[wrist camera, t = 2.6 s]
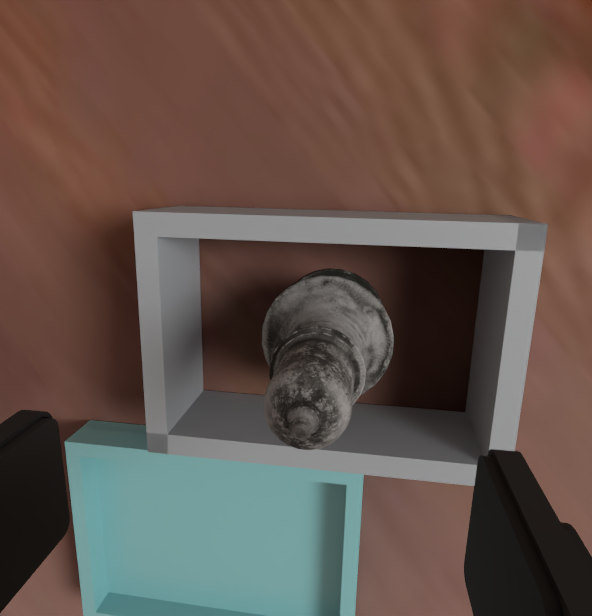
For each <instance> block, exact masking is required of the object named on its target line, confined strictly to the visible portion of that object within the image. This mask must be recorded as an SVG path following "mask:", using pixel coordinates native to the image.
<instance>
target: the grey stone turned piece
mask: <svg viewBox="0 0 592 616" xmlns="http://www.w3.org/2000/svg"><path fill="white" fill-rule="evenodd" d="M393 344H394V335H393V330H392V325H391V320H390V318H389V316H388V314H387V312H386V310H385V308H384V306H383V304H382V302H381V300H380V298H379V296H378V294H377V292H376V291H375V290H374V288H373V287H372V286H371V285H370V284H369V283H368V282H367V281H366V280H364V279H363V278H361V277H360V276H358V275H357V274H354V273H351V272H348V271H345V270H341V269H325V270H320V271H315V272H313V273H311V274H309V275H307V276H305V277H303V278H302V279H301V280H300V281H299V282H297V283H295V284H293V285H291V286H289V287H288V288H286V289H285V290H284V291H283V292H282V293H281V294H280V295H279V296H277V297H276V299H275V300H274V302H273V303H272V305H271V306H270V308H269V309H268V311H267V313H266V317H265V320H264V323H263V327H262V346H263V350H264V354H265V358H266V361H267V363H268V365H269V366H270V375H269V376H270V380H271V381H270V383H269V385H268V387H267V390H266V393H265V396H264V415H265V419H266V422H267V424H268V426H269V428H270V430H271V431H272V433H273V434H274V435H275V436H276V437H277V438H278V439H279V440H281V441H282V442H284V443H285V444H287V445H288V446H291V447H294V448H297V449H303V450H314V449H321V448H323V447H325V446H328V445H330V444H332V443H333V442H334V441H336V440H337V439H338V438H339V437H340V436H341V434H342V433H343V432H344V430H345V429H346V427H347V426H348V423H349V420H350V418H351V413H352V405H354V403H355V402H356V401H357V399H358V398H359V397H360V395H361V394H364V393H365V392H366V391H367V390H369V389H370V388H371V387H373V386H374V385H375V384H377V382H378V381H379V380H380V378H381V377H382V376H383V374H384V373H385V372H386V370H387V368H388V365H389V363H390V360H391V358H392V355H393Z"/></svg>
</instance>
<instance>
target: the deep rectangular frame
mask: <svg viewBox="0 0 592 616" xmlns="http://www.w3.org/2000/svg"><path fill="white" fill-rule="evenodd" d="M133 225H134V241H135V257H136V273H137V289H138V305H139V321H140V337H141V353H142V369H143V385H144V400H145V416H146V432H147V448H148V452H152V453H162V454H171V455H181V456H191V457H200V458H210V459H219V460H229V461H239V462H248V463H258V464H267V465H277V466H287V467H296V468H306V469H315V470H325V471H335V472H344V473H354V474H364V475H373V476H383V477H392V478H402V479H412V480H421V481H431V482H440V483H450V484H460V485H469V486H474V485H475V478H476V470H477V463H478V458H479V456H480V455H482V456H487V455H488V452H489V450H490V449H495V450H507V451H515V445H516V439H517V432H518V425H519V418H520V411H521V405H522V398H523V391H524V384H525V378H526V371H527V364H528V357H529V350H530V344H531V337H532V330H533V323H534V317H535V310H536V303H537V296H538V289H539V283H540V276H541V269H542V262H543V256H544V249H545V242H546V235H547V228H548V224H545V223H541V222H537V221H533V220H528V219H524V218H520V217H516V216H511V215H481V214H446V213H411V212H376V211H342V210H307V209H272V208H237V207H202V206H173V207H165V208H157V209H148V210H140V211H133ZM199 238H201V239H227V240H253V241H279V242H305V243H331V244H357V245H383V246H409V247H435V248H461V249H484V255H483V264H482V273H481V281H480V290H479V298H478V307H477V315H476V324H475V333H474V341H473V350H472V358H471V367H470V375H469V384H468V393H467V401H466V410H465V412H458V411H446V410H434V409H422V408H410V407H398V406H386V405H374V404H362V403H354V405H352V413H351V418H350V420H349V423H348V426H347V427H346V429H345V430H344V432H343V433H342V434H341V436H340V437H339V438H338V439H337V440H336V441H334V442H333V443H332V444H330V445H328V446H325V447H323V448H321V449H314V450H303V449H297V448H294V447H291V446H288V445H287V444H285V443H284V442H282V441H281V440H279V439H278V438H277V437H276V436H275V435H274V434H273V433H272V431H271V430H270V428H269V426H268V424H267V422H266V419H265V415H264V396H265V395H255V394H243V393H231V392H219V391H207V390H203V356H202V323H201V289H200V255H199Z"/></svg>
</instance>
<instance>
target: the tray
mask: <svg viewBox="0 0 592 616" xmlns="http://www.w3.org/2000/svg"><path fill="white" fill-rule="evenodd" d="M64 442H65V451H66V460H67V469H68V478H69V487H70V497H71V506H72V515H73V524H74V533H75V542H76V551H77V560H78V569H79V578H80V588H81V597H82V606H83V615H84V616H355V606H356V589H357V573H358V557H359V541H360V525H361V508H362V492H363V476H364V474H354V473H344V472H335V471H325V470H315V469H306V468H296V467H287V466H277V465H267V464H258V463H248V462H239V461H229V460H219V459H210V458H200V457H191V456H181V455H171V454H162V453H152V452H148V448H147V432H146V425H137V424H127V423H116V422H106V421H95V420H90V421H88V422H87V423H86V424H85V425H84V426H82V427H81V428H80V429H79V430H78V431H76V432H75V433H74V434H73V435H72V436H70V437H69V438H68V439H67V440H66V441H64Z"/></svg>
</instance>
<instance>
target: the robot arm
mask: <svg viewBox="0 0 592 616" xmlns="http://www.w3.org/2000/svg"><path fill="white" fill-rule="evenodd" d="M69 521H70V519H69V509H68V501H67V493H66V485H65V477H64V468H63V460H62V452H61V444H60V436H59V428H58V423H57V421H56V420H55V419H52V416H51V415H50V413H48V412H43V411H31V410H21V411H19V412H17V413H16V414H14V415H13V416H11V417H10V418H8V419H7V420H5V421H4V422H2V423H1V424H0V613H1V612H2V610H3V609H4V608H5V607H6V606H7V604H8V603H9V602H10V601H11V599H12V598H13V597H14V596H15V595H16V593H17V592H18V591H19V590H20V589H21V587H22V586H23V585H24V584H25V583H26V581H27V580H28V579H29V578H30V577H31V575H32V574H33V573H34V572H35V571H36V569H37V568H38V567H39V566H40V565H41V563H42V562H43V561H44V560H45V558H46V557H47V556H48V555H49V554H50V552H51V551H52V550H53V549H54V548H55V546H56V545H57V544H58V543H59V542H60V540H61V539H62V538H63V537H64V535H65V534H66V532H67V530H68V526H69ZM464 576H465V583H466V587H467V591H468V595H469V599H470V603H471V607H472V611H473V615H474V616H592V557H591V555H590V554H589V552H588V550H587V549H586V547H585V545H584V544H583V542H582V540H581V539H580V537H579V535H578V534H577V532H576V530H575V529H574V528H573V527H572V525H570V524H568V523H561V522H560V521H559V519H558V517H557V516H556V514H555V512H554V510H553V509H552V507H551V505H550V503H549V502H548V500H547V498H546V496H545V494H544V493H543V491H542V489H541V487H540V486H539V484H538V482H537V480H536V479H535V477H534V475H533V473H532V472H531V470H530V468H529V466H528V464H527V463H526V461H525V459H524V457H523V456H522V454H521V453H520V452H518V451H507V450H495V449H490V450H489V452H488V455H487V456H482V455H480V456H479V458H478V463H477V470H476V478H475V485H474V493H473V500H472V508H471V516H470V523H469V531H468V538H467V546H466V554H465V561H464Z"/></svg>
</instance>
